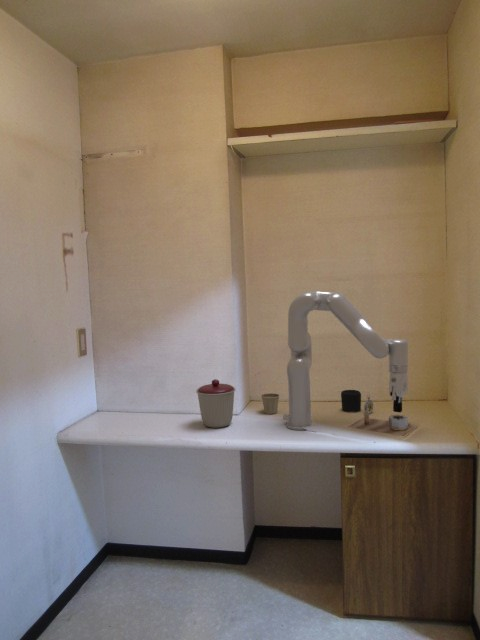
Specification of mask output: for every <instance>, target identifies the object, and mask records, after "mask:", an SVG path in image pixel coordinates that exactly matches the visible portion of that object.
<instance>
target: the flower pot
mask: <svg viewBox="0 0 480 640" xmlns="http://www.w3.org/2000/svg"><path fill="white" fill-rule="evenodd" d="M280 396H281V395H280V394H279V393H276V392H271V393H263V394H260V397H261V400H262V405H263V410H264V411H263V412H264V414H267V415H273V414H277V413H278V405H279V399H280Z"/></svg>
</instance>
